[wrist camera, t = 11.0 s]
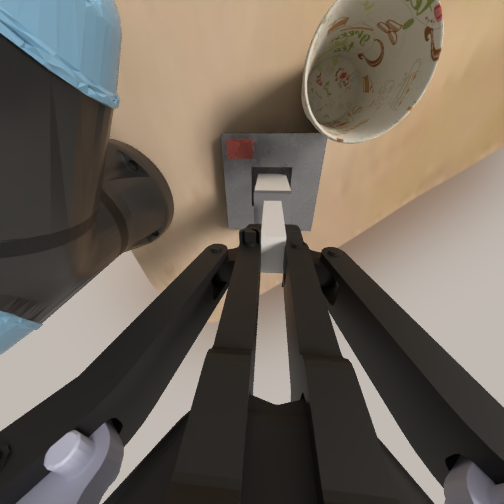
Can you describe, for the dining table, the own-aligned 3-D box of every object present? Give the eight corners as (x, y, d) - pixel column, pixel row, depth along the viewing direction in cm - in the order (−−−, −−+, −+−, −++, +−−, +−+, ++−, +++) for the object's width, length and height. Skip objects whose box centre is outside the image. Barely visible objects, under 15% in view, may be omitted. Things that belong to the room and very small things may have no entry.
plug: (258, 200, 28) (253, 227, 20) (258, 173, 26) (253, 193, 18) (283, 200, 28) (288, 228, 20) (285, 173, 26) (291, 193, 18)
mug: (275, 101, 22) (277, 85, 13) (378, -52, 16) (499, -250, 7) (324, 153, 24) (353, 167, 16) (430, 37, 18) (566, -38, 10)
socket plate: (230, 222, 30) (227, 230, 28) (224, 133, 24) (219, 134, 22) (308, 224, 30) (311, 232, 27) (323, 132, 23) (329, 133, 21)
